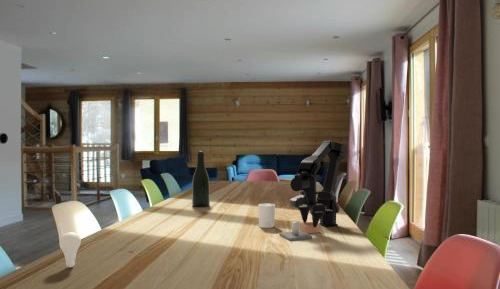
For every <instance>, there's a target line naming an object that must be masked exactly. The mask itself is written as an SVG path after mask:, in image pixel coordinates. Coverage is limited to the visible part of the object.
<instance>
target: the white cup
mask: <svg viewBox="0 0 500 289" xmlns="http://www.w3.org/2000/svg"><path fill="white" fill-rule="evenodd" d="M257 213H258V225H259V226H258V227H259V228H262V229H272V228H274V227H275V220H276V219H275V218H276V217H275V215H276V204H275V203H269V202H267V203H264V202H263V203H259V204H257Z"/></svg>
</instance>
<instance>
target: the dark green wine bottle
mask: <svg viewBox="0 0 500 289" xmlns="http://www.w3.org/2000/svg"><path fill="white" fill-rule="evenodd" d="M205 164H206V163H205V153H204V151H202V150H199V151H197V153H196V168H195V171H194V173H193V177H192V186H191V187H192V190H191V198H192V199H191V203H192V204H191V205H192V206H193V207H196V208H205V207H209V206H210V203H211V202H210V201H211V197H210V193H211V192H210V177H209V174H208V171H207V169H206V166H205Z"/></svg>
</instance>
